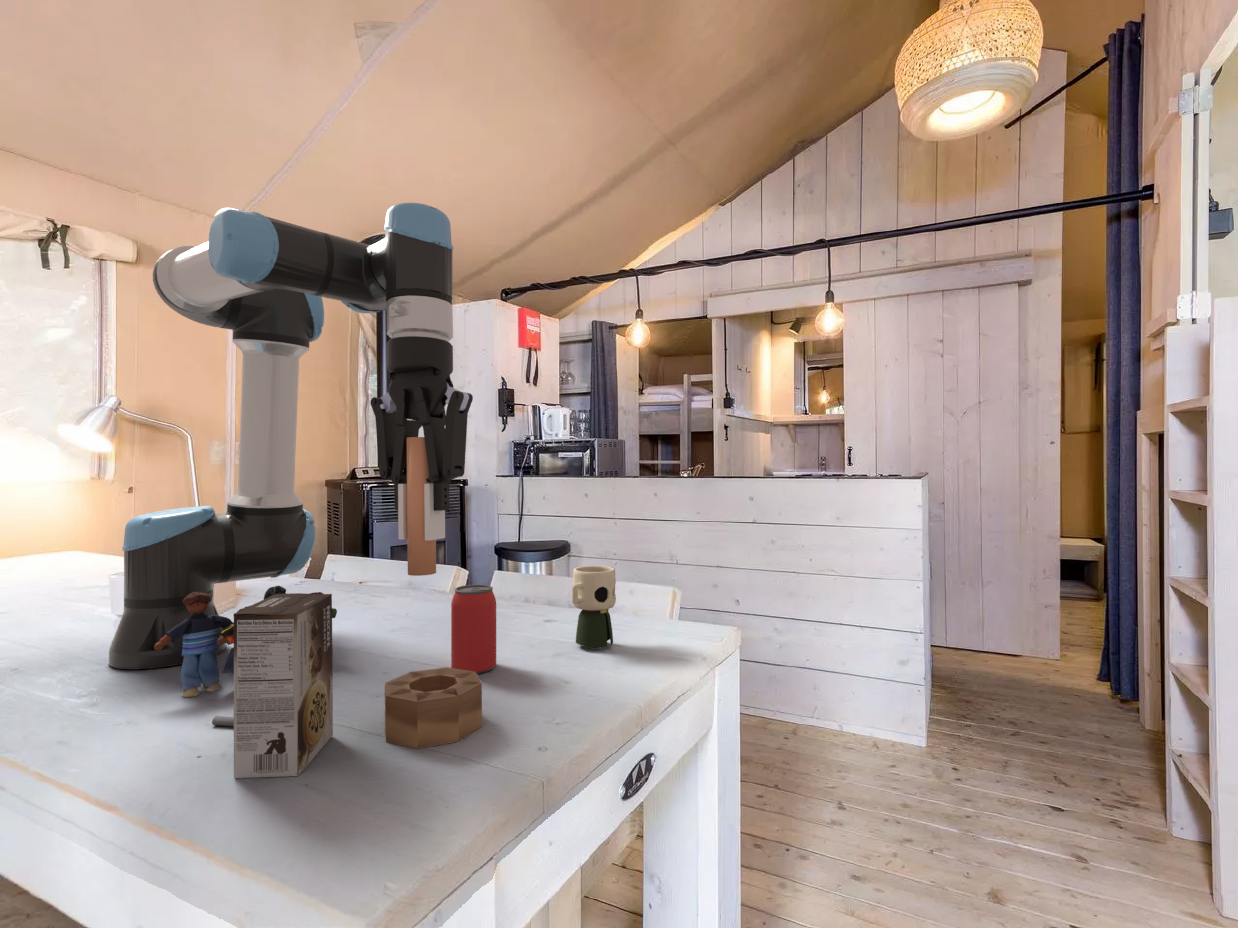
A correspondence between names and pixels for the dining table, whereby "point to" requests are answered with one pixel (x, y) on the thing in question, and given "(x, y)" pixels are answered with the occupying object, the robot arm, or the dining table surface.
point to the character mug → (594, 604)
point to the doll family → (206, 643)
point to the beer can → (473, 628)
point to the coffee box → (282, 684)
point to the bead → (432, 707)
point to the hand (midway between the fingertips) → (421, 538)
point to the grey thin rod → (223, 721)
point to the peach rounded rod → (418, 511)
